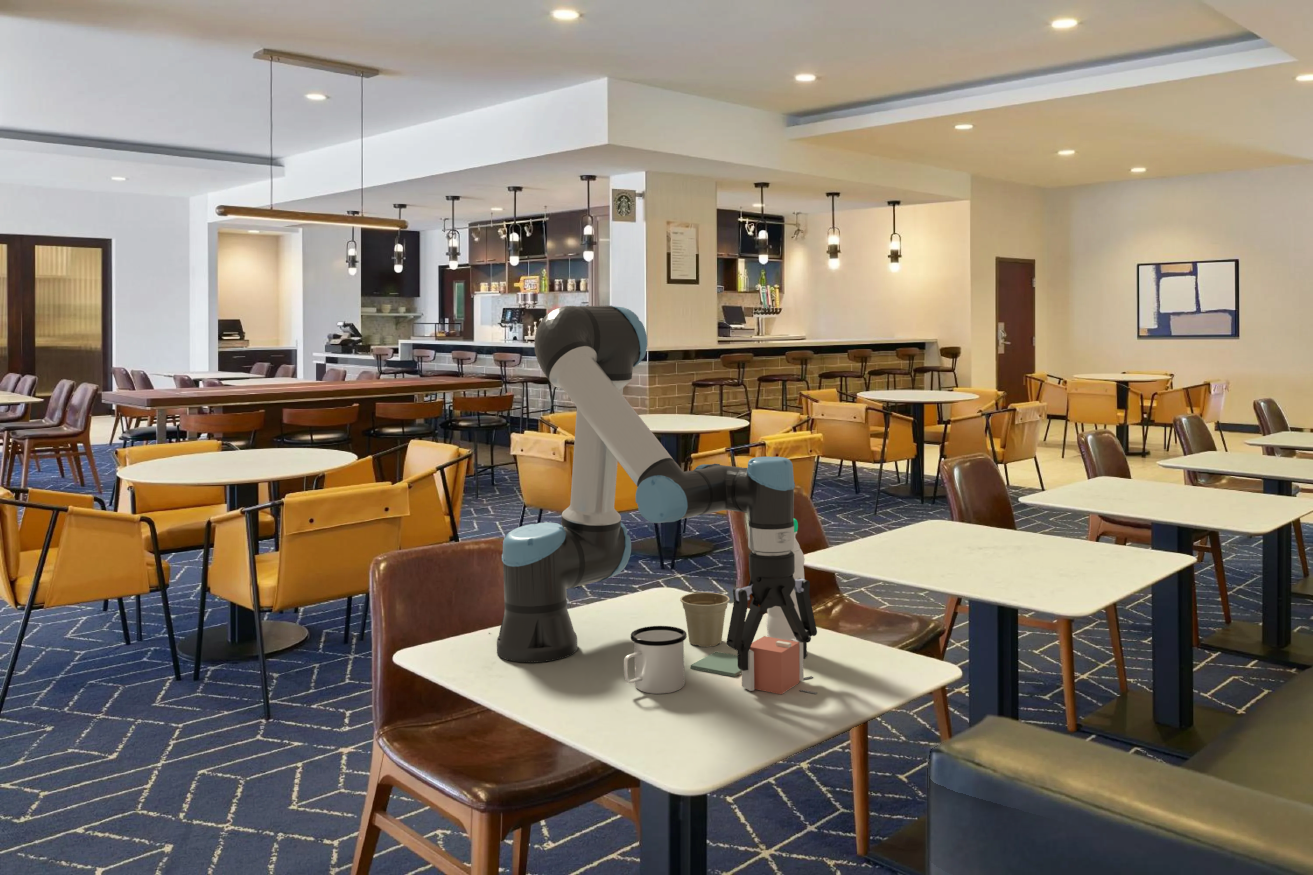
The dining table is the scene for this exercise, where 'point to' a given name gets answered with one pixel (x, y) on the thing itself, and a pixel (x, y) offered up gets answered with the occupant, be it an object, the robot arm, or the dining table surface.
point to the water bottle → (775, 616)
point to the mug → (657, 659)
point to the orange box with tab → (775, 664)
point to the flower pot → (705, 617)
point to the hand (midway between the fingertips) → (772, 682)
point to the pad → (719, 664)
